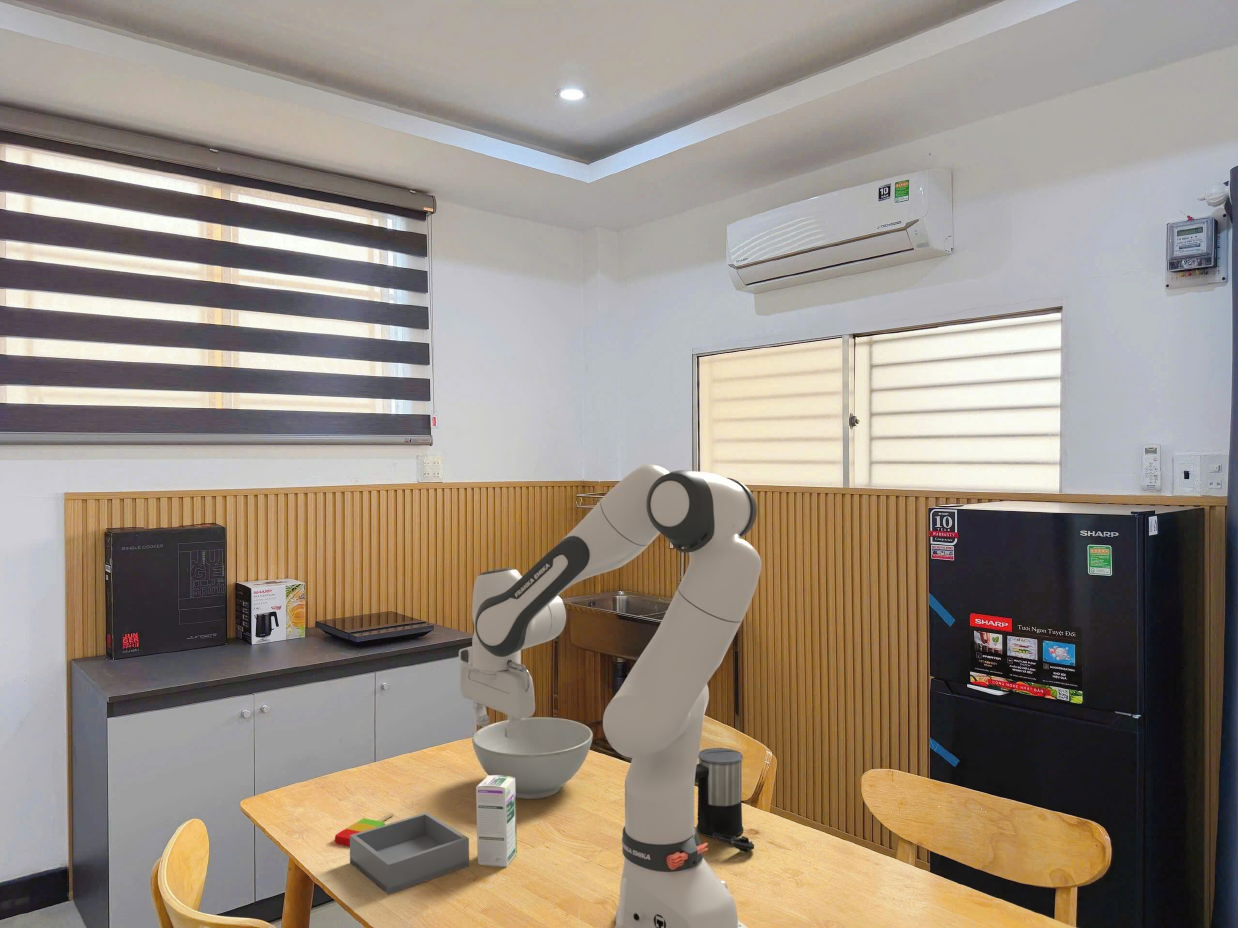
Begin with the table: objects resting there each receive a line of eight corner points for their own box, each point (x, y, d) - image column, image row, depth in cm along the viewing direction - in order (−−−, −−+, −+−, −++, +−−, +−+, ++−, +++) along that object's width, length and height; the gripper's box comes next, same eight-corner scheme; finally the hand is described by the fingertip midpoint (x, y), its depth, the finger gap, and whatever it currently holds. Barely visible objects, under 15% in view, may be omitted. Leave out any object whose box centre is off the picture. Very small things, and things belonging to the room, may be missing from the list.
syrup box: (507, 867, 154) (506, 787, 154) (476, 864, 155) (475, 784, 155) (517, 853, 160) (516, 775, 160) (487, 851, 161) (486, 773, 161)
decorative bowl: (485, 766, 206) (485, 716, 206) (596, 767, 205) (596, 717, 205) (460, 812, 179) (460, 754, 179) (588, 813, 178) (588, 754, 178)
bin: (469, 865, 155) (468, 837, 155) (388, 894, 145) (388, 864, 145) (427, 837, 167) (426, 812, 167) (350, 862, 156) (349, 835, 157)
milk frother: (716, 815, 176) (715, 743, 176) (781, 838, 165) (781, 761, 165) (671, 838, 166) (671, 761, 166) (738, 863, 155) (738, 781, 155)
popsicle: (331, 845, 165) (331, 835, 165) (381, 815, 179) (381, 806, 179) (355, 849, 163) (355, 839, 163) (403, 819, 177) (403, 810, 177)
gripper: (543, 663, 152) (543, 741, 152) (482, 645, 167) (482, 715, 167) (513, 669, 148) (513, 749, 148) (453, 649, 163) (453, 722, 163)
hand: (496, 731), depth 158 cm, fingers open, 8 cm apart
